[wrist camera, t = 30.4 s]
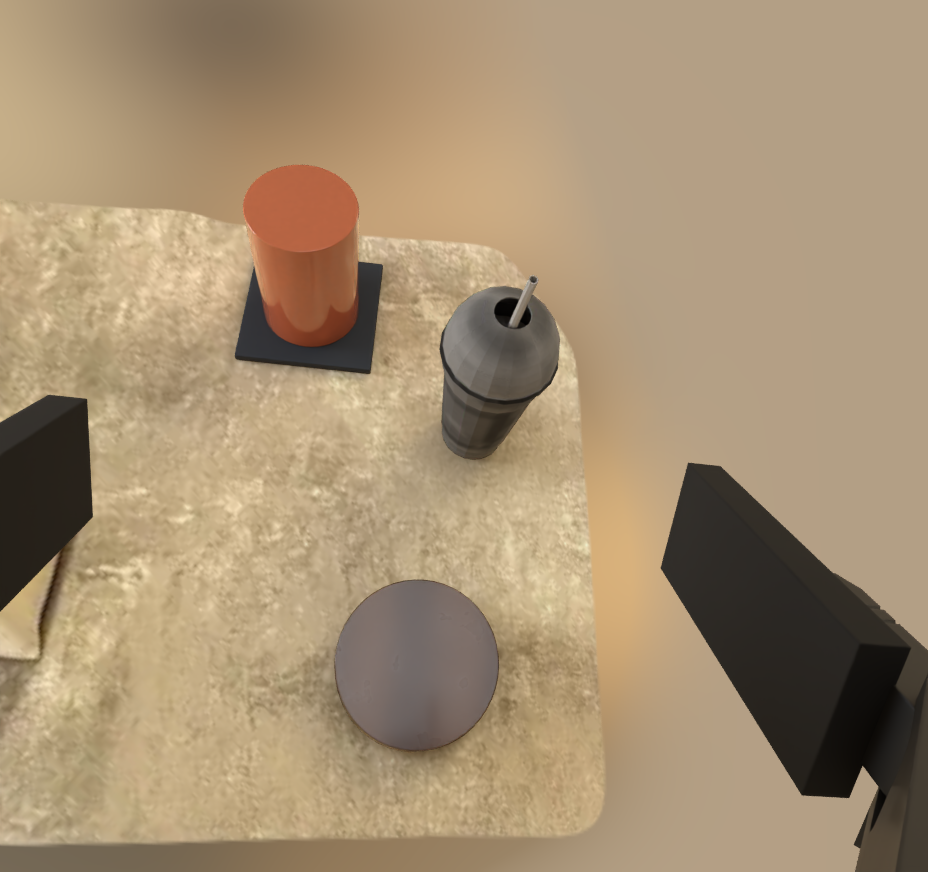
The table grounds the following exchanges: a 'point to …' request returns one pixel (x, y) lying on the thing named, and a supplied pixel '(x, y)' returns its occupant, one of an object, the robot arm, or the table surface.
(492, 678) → the saucer
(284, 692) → the table surface
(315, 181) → the terracotta cylinder
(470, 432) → the beverage cup
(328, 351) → the mat
